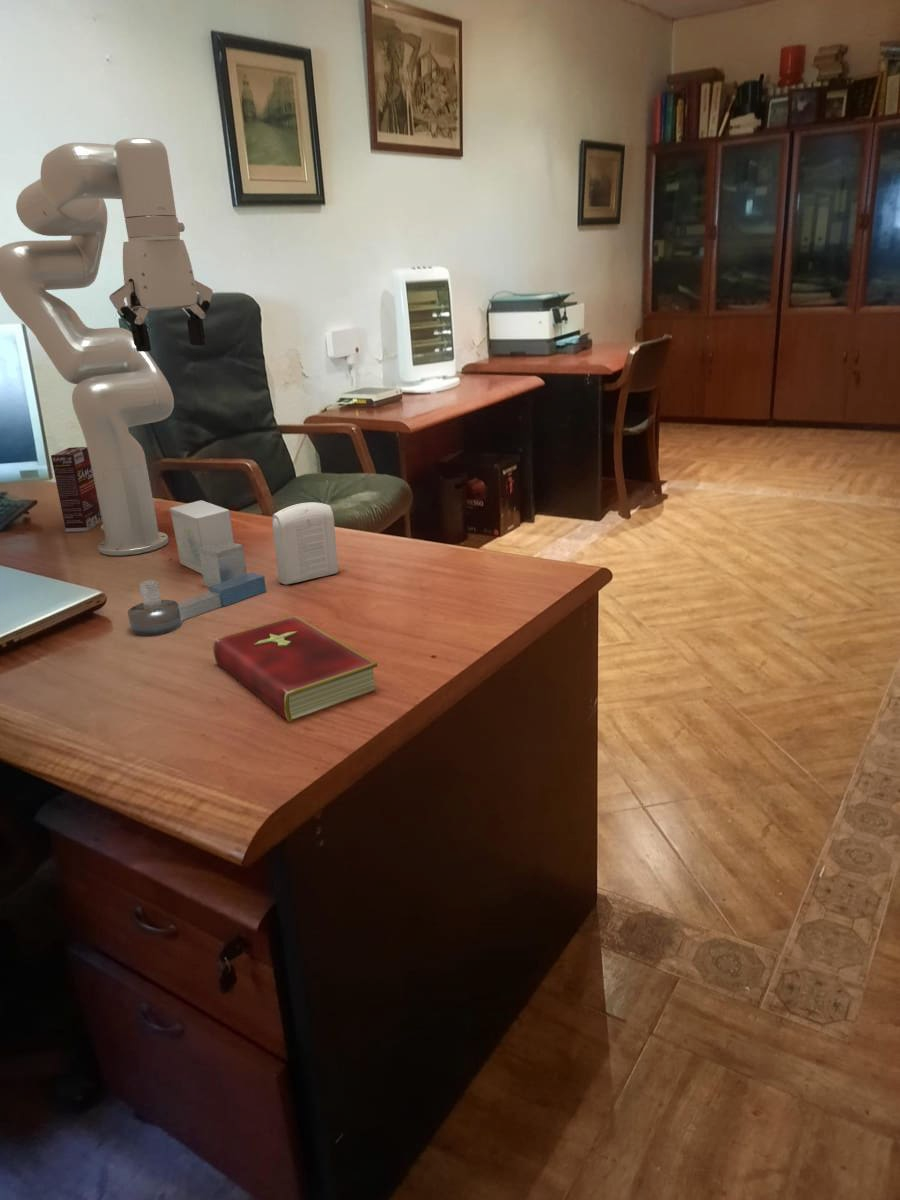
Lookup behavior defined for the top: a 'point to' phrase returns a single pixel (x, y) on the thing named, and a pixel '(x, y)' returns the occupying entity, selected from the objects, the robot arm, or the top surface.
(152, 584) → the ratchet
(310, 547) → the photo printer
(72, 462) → the supplement box
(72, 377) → the robot arm
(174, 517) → the skincare box
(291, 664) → the hardcover book
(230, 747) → the top surface
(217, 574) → the white cube
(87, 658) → the top surface
